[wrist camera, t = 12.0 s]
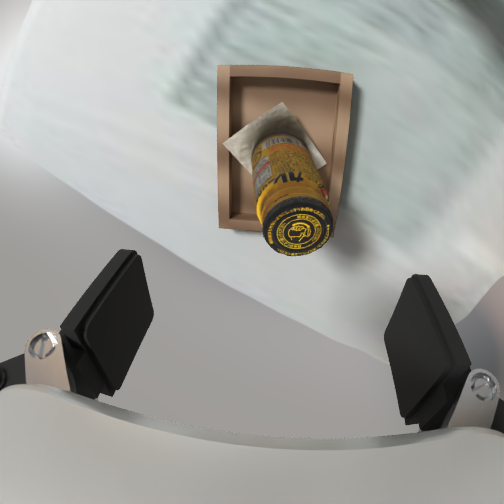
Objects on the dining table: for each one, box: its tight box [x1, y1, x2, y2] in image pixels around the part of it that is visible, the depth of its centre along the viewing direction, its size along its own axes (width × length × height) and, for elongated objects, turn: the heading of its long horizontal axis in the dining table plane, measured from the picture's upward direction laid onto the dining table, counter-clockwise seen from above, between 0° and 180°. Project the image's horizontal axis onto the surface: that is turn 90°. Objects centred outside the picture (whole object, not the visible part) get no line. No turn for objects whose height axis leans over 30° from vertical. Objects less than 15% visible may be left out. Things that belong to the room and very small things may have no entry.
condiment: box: [223, 102, 333, 256], centre depth 25 cm, size 7×8×12 cm
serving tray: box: [217, 65, 353, 237], centre depth 29 cm, size 18×13×2 cm
